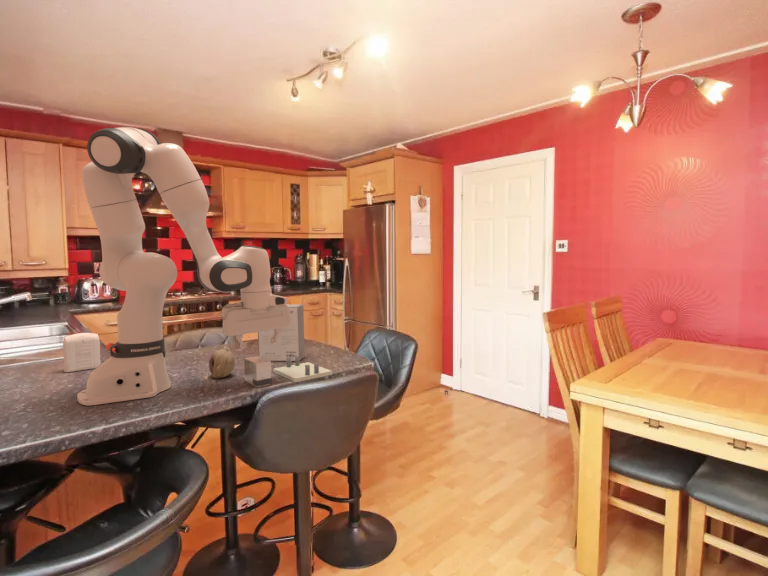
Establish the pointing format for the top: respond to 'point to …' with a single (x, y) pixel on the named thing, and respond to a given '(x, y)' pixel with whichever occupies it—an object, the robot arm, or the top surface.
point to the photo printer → (81, 352)
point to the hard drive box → (285, 339)
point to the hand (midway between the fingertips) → (259, 346)
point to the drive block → (257, 371)
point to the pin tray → (301, 370)
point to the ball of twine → (221, 363)
